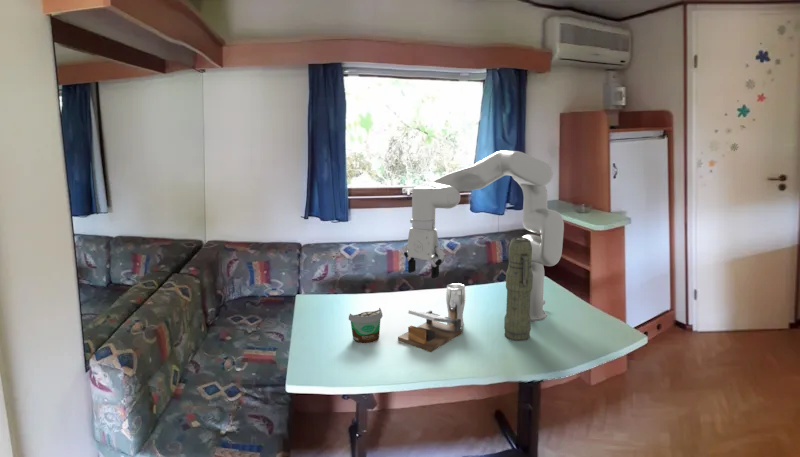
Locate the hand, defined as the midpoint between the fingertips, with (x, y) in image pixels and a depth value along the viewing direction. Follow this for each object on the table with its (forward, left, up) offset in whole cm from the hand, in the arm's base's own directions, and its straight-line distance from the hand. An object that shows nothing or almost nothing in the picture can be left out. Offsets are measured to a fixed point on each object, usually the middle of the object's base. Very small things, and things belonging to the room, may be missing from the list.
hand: (423, 274), depth 168 cm
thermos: (-24, +23, -24) cm, 41 cm away
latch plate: (-4, 0, -24) cm, 24 cm away
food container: (+11, -15, -24) cm, 30 cm away
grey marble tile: (-5, 0, -18) cm, 18 cm away
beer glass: (-18, +1, -24) cm, 30 cm away
